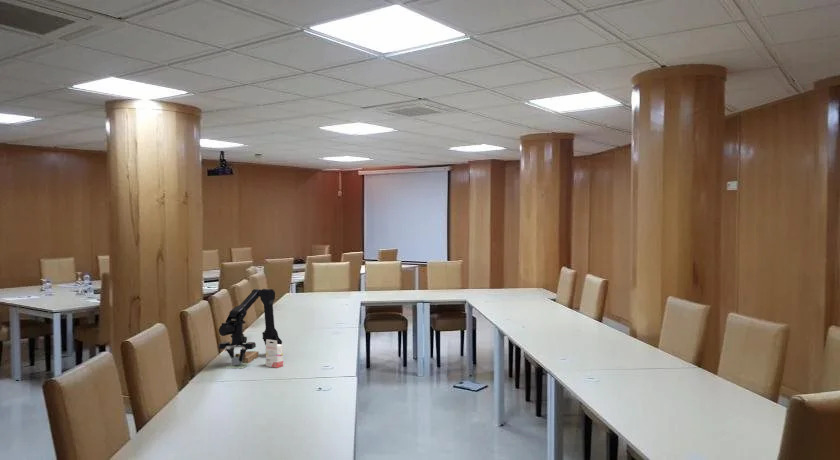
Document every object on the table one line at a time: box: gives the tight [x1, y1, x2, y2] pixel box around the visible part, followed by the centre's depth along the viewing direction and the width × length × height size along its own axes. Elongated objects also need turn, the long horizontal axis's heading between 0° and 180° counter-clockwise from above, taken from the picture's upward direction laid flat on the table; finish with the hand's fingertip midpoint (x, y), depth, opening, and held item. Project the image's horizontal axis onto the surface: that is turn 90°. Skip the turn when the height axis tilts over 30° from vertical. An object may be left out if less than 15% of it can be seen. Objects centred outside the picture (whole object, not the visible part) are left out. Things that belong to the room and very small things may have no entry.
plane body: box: [243, 350, 260, 364], centre depth 324 cm, size 7×16×6 cm, turn 175°
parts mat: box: [225, 363, 250, 370], centre depth 310 cm, size 9×9×1 cm
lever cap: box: [231, 353, 243, 365], centre depth 310 cm, size 4×6×5 cm, turn 175°
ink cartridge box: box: [265, 339, 284, 369], centre depth 310 cm, size 9×5×15 cm, turn 62°
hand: (237, 361), depth 310 cm, fingers open, 4 cm apart
